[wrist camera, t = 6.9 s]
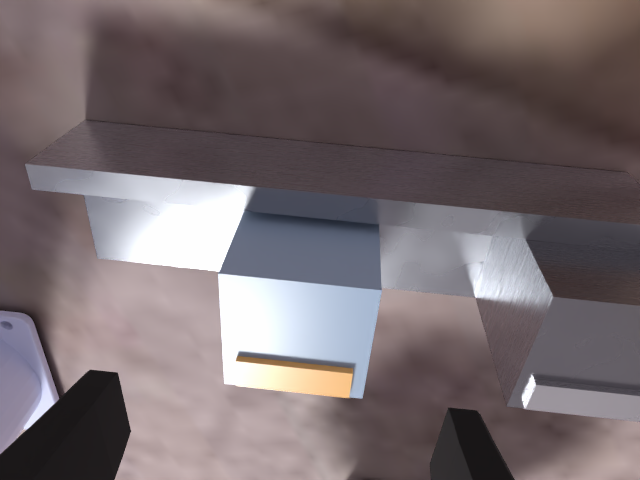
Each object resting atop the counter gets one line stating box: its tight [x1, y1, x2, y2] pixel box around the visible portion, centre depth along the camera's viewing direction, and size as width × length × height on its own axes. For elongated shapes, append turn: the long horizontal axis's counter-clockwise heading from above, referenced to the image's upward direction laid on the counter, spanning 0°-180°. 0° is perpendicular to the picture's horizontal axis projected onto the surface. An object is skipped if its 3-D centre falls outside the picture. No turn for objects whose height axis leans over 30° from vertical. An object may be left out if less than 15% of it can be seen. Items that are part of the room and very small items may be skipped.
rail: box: [25, 120, 640, 422], centre depth 15 cm, size 18×5×6 cm, turn 86°
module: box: [218, 211, 382, 399], centre depth 15 cm, size 4×4×5 cm
